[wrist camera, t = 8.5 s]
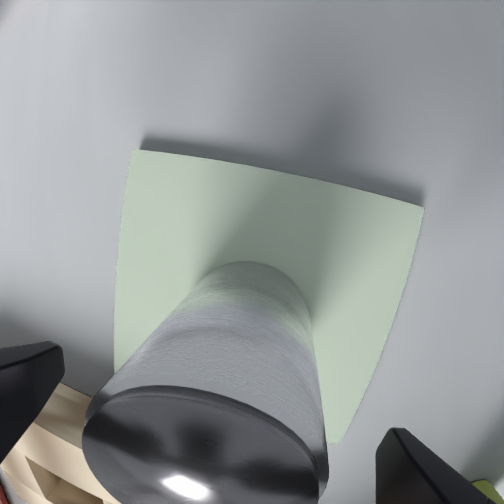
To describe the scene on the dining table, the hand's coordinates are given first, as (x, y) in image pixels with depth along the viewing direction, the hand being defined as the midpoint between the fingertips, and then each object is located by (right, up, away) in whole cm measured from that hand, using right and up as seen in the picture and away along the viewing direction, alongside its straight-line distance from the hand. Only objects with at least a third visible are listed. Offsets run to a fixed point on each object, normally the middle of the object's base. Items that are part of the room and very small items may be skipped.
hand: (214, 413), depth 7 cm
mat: (+1, +1, +6) cm, 6 cm away
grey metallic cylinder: (+1, +1, +6) cm, 6 cm away
